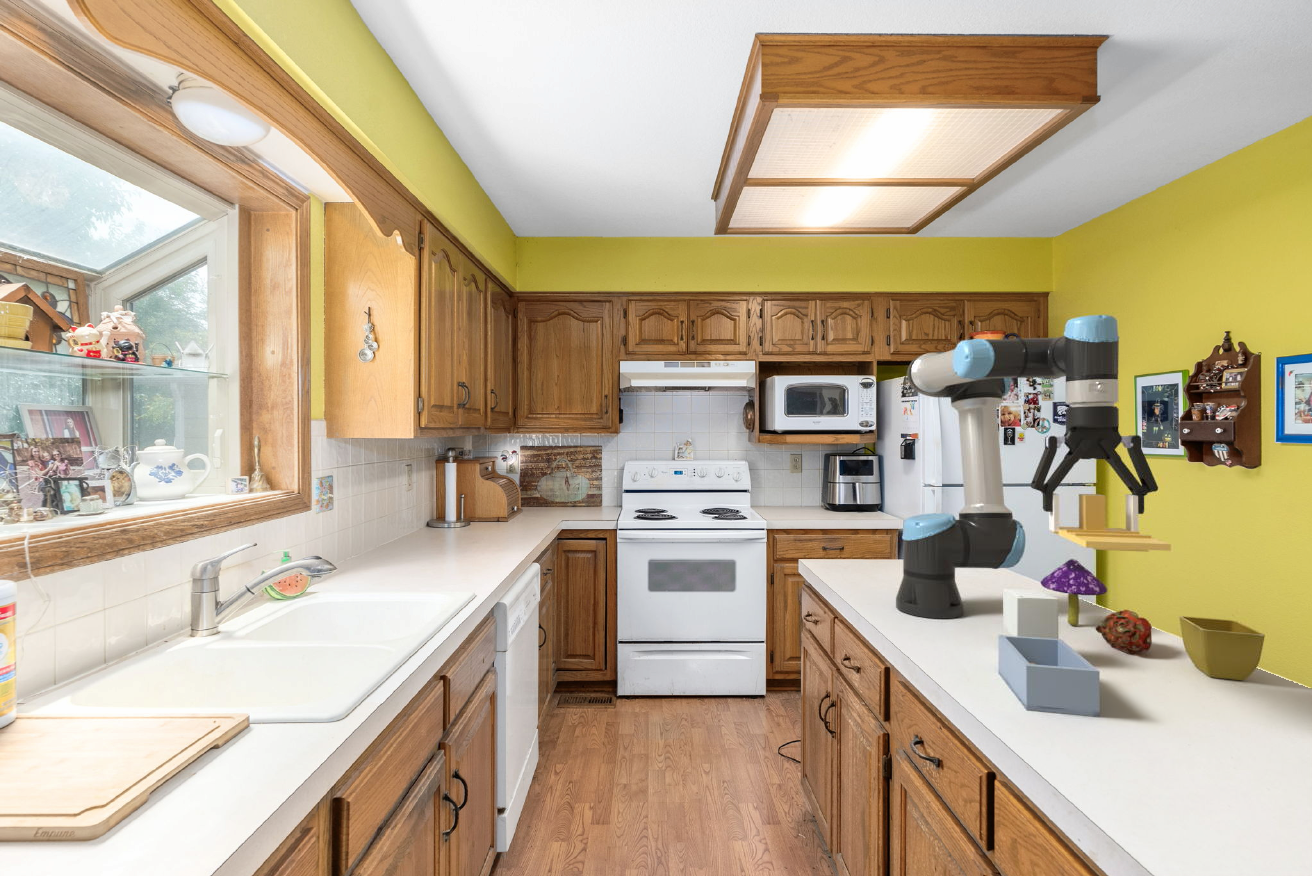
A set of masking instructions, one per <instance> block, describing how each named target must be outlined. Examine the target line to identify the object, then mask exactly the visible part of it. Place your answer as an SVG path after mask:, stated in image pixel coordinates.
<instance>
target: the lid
mask: <svg viewBox="0 0 1312 876" xmlns="http://www.w3.org/2000/svg"><path fill="white" fill-rule="evenodd" d="M1106 497H1107V496H1106V495H1102V494H1099V493H1098V494H1097V493H1095V494H1094V493H1078V526H1059V532H1054V531H1052V530H1050V532H1051V533H1053V534H1055V535H1056V536H1057V535H1058V536H1060V537H1062V538H1064V539H1067V540H1069V541H1070V542H1073V543H1076V544H1077V545H1079V546H1082V547H1084V548H1085V549H1086V548H1087V549H1089V548H1090V549H1093V550H1096V551H1117V552H1119V551H1120V552H1121V551H1122V552H1123V551H1124V552H1144V553H1145V552H1147V553H1148V552H1149V551H1166V552H1167V551H1168V552H1169V551H1170V552H1171V551H1172V548H1171V547H1172V546H1171V545H1172V544H1171V543H1169V542H1165V541H1162V540H1160V539H1156V538H1153V537H1152V535H1149V534H1142V533H1140V531H1139V530H1138V531H1129V530H1126V528H1123V527H1121V528H1120V527H1119V528H1118V527H1107V519H1106V518H1107V515H1106V514H1107V509H1106V508H1107V507H1106V505H1107V504H1106V503H1107V501H1106V500H1107V498H1106Z"/></svg>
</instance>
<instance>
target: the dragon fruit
mask: <svg viewBox="0 0 1312 876" xmlns="http://www.w3.org/2000/svg"><path fill="white" fill-rule="evenodd" d="M1152 627H1153V626H1152V625H1151V623H1150V621H1148V619H1146V618H1145V617H1141V616H1139V614H1138V613H1137V612H1135V611H1132V610H1129V609H1123V610H1117V611H1115V612H1112V613H1111V612H1110V614H1108V615H1106V616H1105V618H1104V619H1103V620H1102V621H1100V624H1098V625H1096V626H1095V630H1096V632H1097V633H1098V634H1100V635H1101V636H1102V638H1103V640H1104V641H1105V643H1107V644H1108V645H1110V647H1111V648H1115V649H1118V650H1120V651H1121V652H1125V653H1128V654H1133V653H1136V651H1140V652H1144V651H1145V652H1148V651H1149V650H1150V649H1151V646H1152V641H1153V639H1152V638H1153V637H1152V636H1153V635H1152Z"/></svg>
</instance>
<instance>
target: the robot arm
mask: <svg viewBox="0 0 1312 876" xmlns="http://www.w3.org/2000/svg"><path fill="white" fill-rule="evenodd" d="M1118 330H1119V329H1118V320H1117V318H1116V317H1114V316H1113V315H1110V314H1094V315H1085V316H1084V315H1083V316H1079V317H1074V318H1071V319H1069V320H1067V322H1066V324H1065V327H1064V332H1063V335H1062V336H1057V337H1031V338H1030V337H1029V338H1025V337H1024V338H999V339H998V338H989V339H987V338H985V339H984V338H973V339H967V340H966V339H965V340H960V342H958V343H957V345H956V347H955V348H954V349H951V350H948V351H936V352H927V353H924V354H921V355H918V356H917V357H915V358H914V359H913V360H912V361H911V362H910V364H909V365H908V368H907V371H906V377H907V381H908V384H909V386H910V387H911V388H912V389H913V390H914V391H915V392H917V393H919V394H921V395H924V396H927V397H933V398H948V399H949V398H950V404H951V405H950V406H951V407H952V408H953V409H954V410H956V411H957V413H958V427H959V439H960V440H959V441H960V453H961V454H960V456H961V469H962V482H963V485H962V486H963V497H964V498H963V499H964V506H963V507H962V509H960V511H958V519H956V517H955V515H954V514H952V513H946V512H944V513H943V512H941V513H936V512H935V513H934V512H932V513H924V514H917V515H913V516H910V517H908V518H907V519H905V520H904V522H903V528H902V536H901V538H902V562H903V566H902V568H903V569H902V570H903V571H902V572H903V573H902V575H903V576H902V580H901V582H900V585H899V587H898V590H897V594H896V597H895V608H896V609H897V610H898V611H901V612H902V613H905V614H908V615H911V616H916V617H921V618H928V619H955V618H958V617H961V616H963V615H964V603H963V600H962V597H961V594H960V592H959V588H958V586H957V583H956V569H993V570H997V569H1009V568H1014V567H1015V566H1017V564H1019V563H1020V561H1021V559H1022V558H1023V557H1024V554H1025V553H1024V552H1025V548H1026V532H1025V529H1024V526H1023V524H1022V523H1021V521H1019V520H1017V519H1014V518H1013V517H1014V516H1013V511H1012V510H1010V509H1009V508H1008V507H1007V506H1006V505H1005V498H1004V497H1005V495H1004V484H1003V472H1002V471H1003V470H1002V459H1001V448H1000V447H1001V446H1000V436H999V435H1000V434H999V433H1000V432H999V423H998V411H997V410H998V407H1000V406H1001V404H1002V403H1003V402H1004V397H1006V396H1007V395H1008V394H1009V392H1010V391H1011V388H1012V385H1011V384H1012V383H1013V382H1012V381H1013V379H1022V378H1023V379H1028V378H1029V379H1030V378H1032V379H1033V378H1034V379H1035V378H1038V379H1041V380H1050V379H1051V380H1058V379H1060V378H1064V377H1065V402H1064V403H1065V404H1066V405H1069V407H1067V408H1066V409H1065V433H1064V434H1063V436H1055V435H1047V436H1046V437H1045V438H1044V450H1043V453H1042V454H1041V455H1042V456H1041V457H1040V460H1039V463H1038V466H1037V468H1036V469H1035V473H1034V475H1033V478H1032V480H1031V483H1030V488H1031V489H1033V490H1036V491H1039V492H1041V494H1042V509H1043V511H1044V512H1046V513H1047V512H1048V530H1049V531H1051V530H1052V531H1054V532H1059V527H1060V494H1057V493H1055V491H1056V490H1057V488H1059V486H1060V484H1061V483H1062V482H1063V480H1064V479H1065V478H1066V476H1067V475H1068V474H1069V472H1070V471H1071V470H1072V469H1073V467H1074V465H1076V464H1077V463H1078V462H1079V461H1080V460H1091V459H1095V460H1105V462H1107V463H1108V464H1109V465H1110V467H1111V468H1112V469H1113V471H1114V472H1115V473H1116V474H1117V476H1118V477H1119V478H1120V480H1121V482H1122V483H1123V484H1124V485H1125V486H1126V488H1127V489H1128V490H1129V491H1130V493H1131V494H1130V493H1129V494H1128V493H1126V494H1125V529H1126V530H1129V531H1138V532H1139V515H1143V514H1144V513H1145V496H1147V495H1148V494H1150V493H1153V492H1157V491H1158V490H1159V486H1158V484H1157V481H1156V480H1155V477H1154V475H1153V473H1152V470H1151V468H1150V465H1149V463H1148V461H1147V458H1146V456H1145V453H1144V450H1143V449H1142V445H1143V444H1142V442H1143V441H1142V437H1141V436H1140V435H1137V434H1136V435H1135V434H1131V435H1121V434H1120V431H1119V427H1120V425H1119V423H1120V419H1119V417H1120V416H1119V415H1120V414H1119V411H1120V410H1119V407H1117V406H1115V404H1117V403H1118V402H1119V354H1120V353H1119V350H1120V349H1119V346H1120V345H1119V343H1120V342H1119V340H1120V336H1119V332H1118ZM1121 443H1122V445H1123V447H1124V448H1125V449H1127V451H1126V452H1127V453H1128V457H1129V458H1130V461H1131V463H1132V465H1133V468H1134V470H1135V472H1136V474H1137V477H1138V479H1139V481H1138V480H1137V478H1136V476H1135V475H1134V474H1133V473H1132V471H1131V470H1130V469H1129V467H1128V466H1127V465H1126V464H1125V462H1124V461H1123V460H1122V457H1121V456H1120V455H1119V453H1118V452H1117V451H1116V449H1117V448H1118V446H1119V445H1120V444H1121ZM1062 444H1064V445H1065V446H1066V447H1067V449H1068V451H1067V452H1066V454H1065V455H1064V457H1063V459H1062V461H1061V462H1060V463H1059V465H1058V466H1057V467H1056V469H1055V470H1054V471H1053V473H1051V475H1050V476H1049V478H1048V479H1047V477H1048V474H1049V472H1050V469H1051V467H1052V465H1053V463H1054V459H1055V457H1056V454H1057V451H1058V449H1060V448H1061V447H1062V446H1061V445H1062ZM1046 479H1047V480H1046Z"/></svg>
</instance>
